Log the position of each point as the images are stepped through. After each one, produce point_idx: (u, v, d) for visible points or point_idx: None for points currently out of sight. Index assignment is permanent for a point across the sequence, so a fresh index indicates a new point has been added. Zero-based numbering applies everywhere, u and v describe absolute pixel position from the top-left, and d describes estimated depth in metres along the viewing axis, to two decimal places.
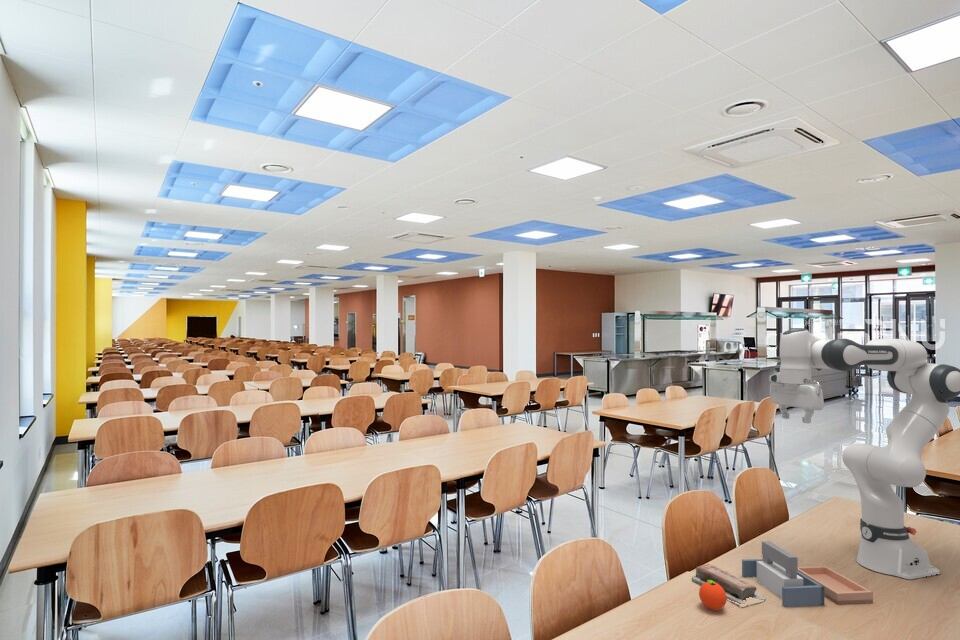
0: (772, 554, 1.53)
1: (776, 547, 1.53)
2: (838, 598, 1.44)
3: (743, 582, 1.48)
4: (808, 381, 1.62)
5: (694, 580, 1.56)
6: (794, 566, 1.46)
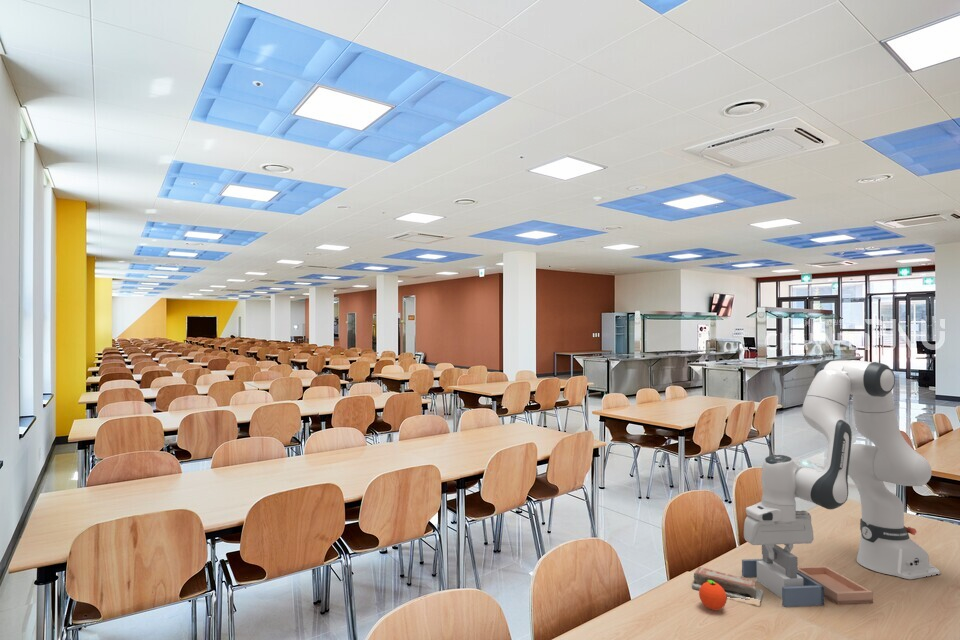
0: None
1: (776, 547, 1.53)
2: (838, 598, 1.44)
3: (744, 579, 1.49)
4: (799, 513, 1.53)
5: (696, 588, 1.51)
6: (794, 566, 1.46)
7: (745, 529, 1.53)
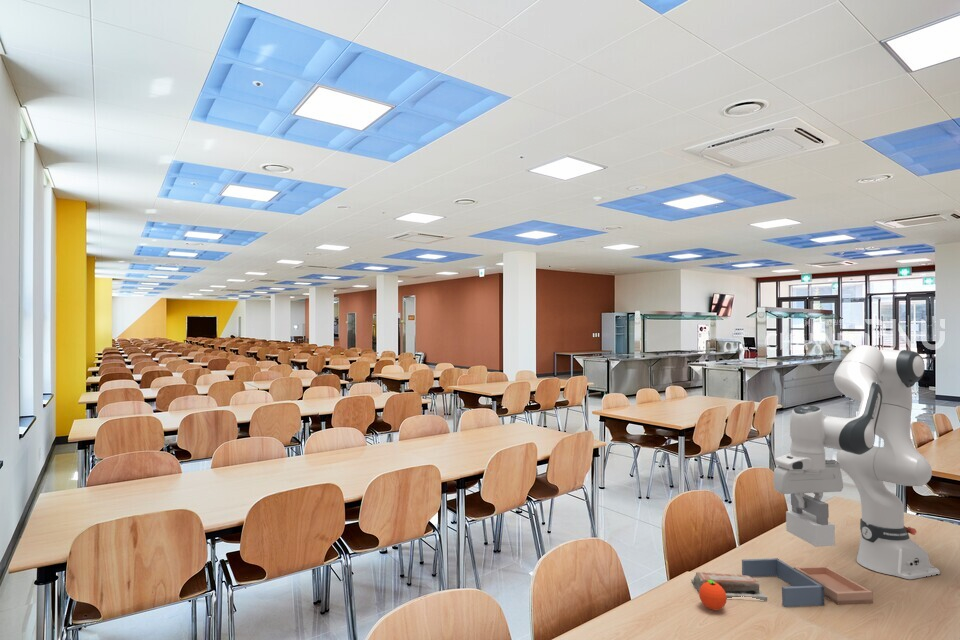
0: None
1: (806, 496, 1.54)
2: (838, 598, 1.44)
3: (742, 576, 1.52)
4: (828, 462, 1.54)
5: None
6: (825, 513, 1.48)
7: (775, 479, 1.54)
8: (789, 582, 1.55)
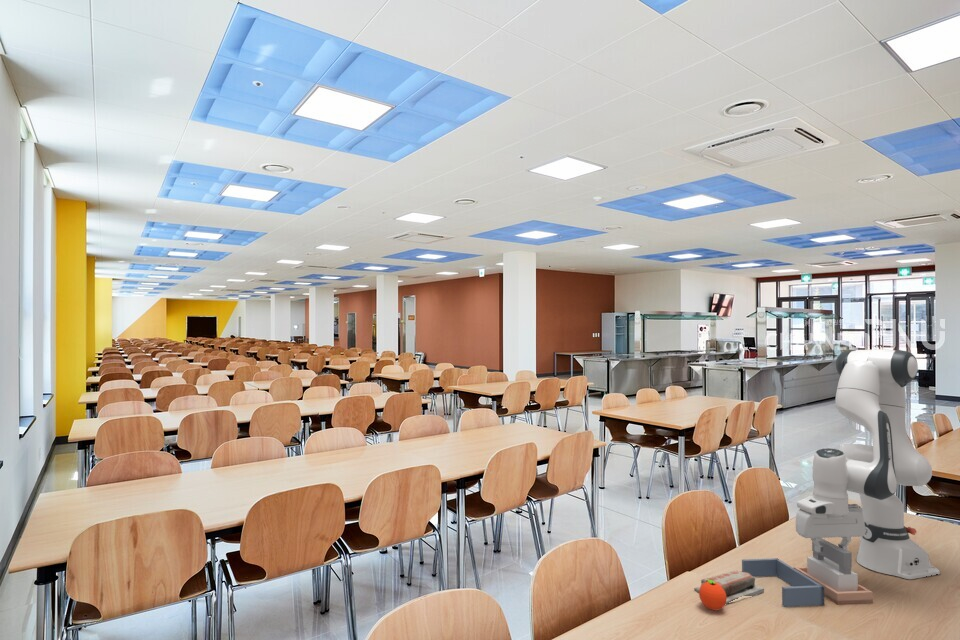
0: (824, 550, 1.54)
1: (828, 543, 1.54)
2: (838, 598, 1.44)
3: (735, 573, 1.54)
4: (850, 506, 1.54)
5: (727, 602, 1.43)
6: (848, 562, 1.47)
7: (797, 523, 1.53)
8: (789, 582, 1.55)
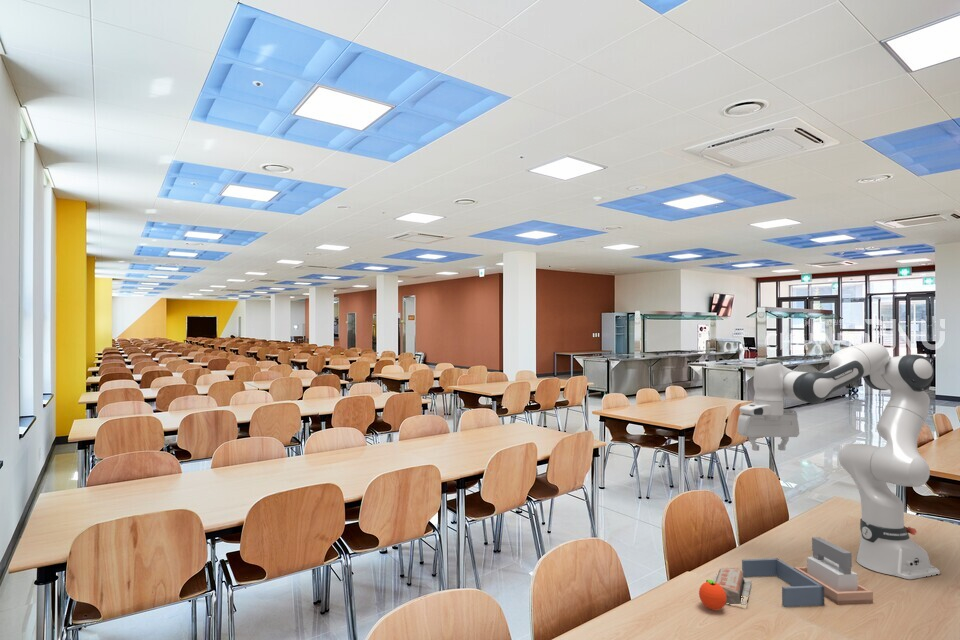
0: (824, 550, 1.54)
1: (828, 543, 1.54)
2: (838, 598, 1.44)
3: (727, 571, 1.55)
4: (786, 410, 1.73)
5: None
6: (848, 562, 1.47)
7: (739, 425, 1.73)
8: (789, 582, 1.55)
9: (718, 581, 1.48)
